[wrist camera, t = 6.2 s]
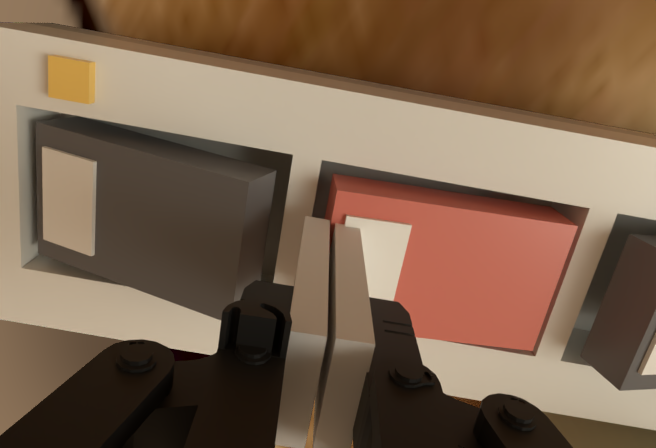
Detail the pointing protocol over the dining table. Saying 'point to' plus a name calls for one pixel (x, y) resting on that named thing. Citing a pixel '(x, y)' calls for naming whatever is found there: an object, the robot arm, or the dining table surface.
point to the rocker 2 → (627, 320)
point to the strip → (324, 191)
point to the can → (601, 433)
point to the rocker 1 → (151, 212)
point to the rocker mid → (456, 258)
